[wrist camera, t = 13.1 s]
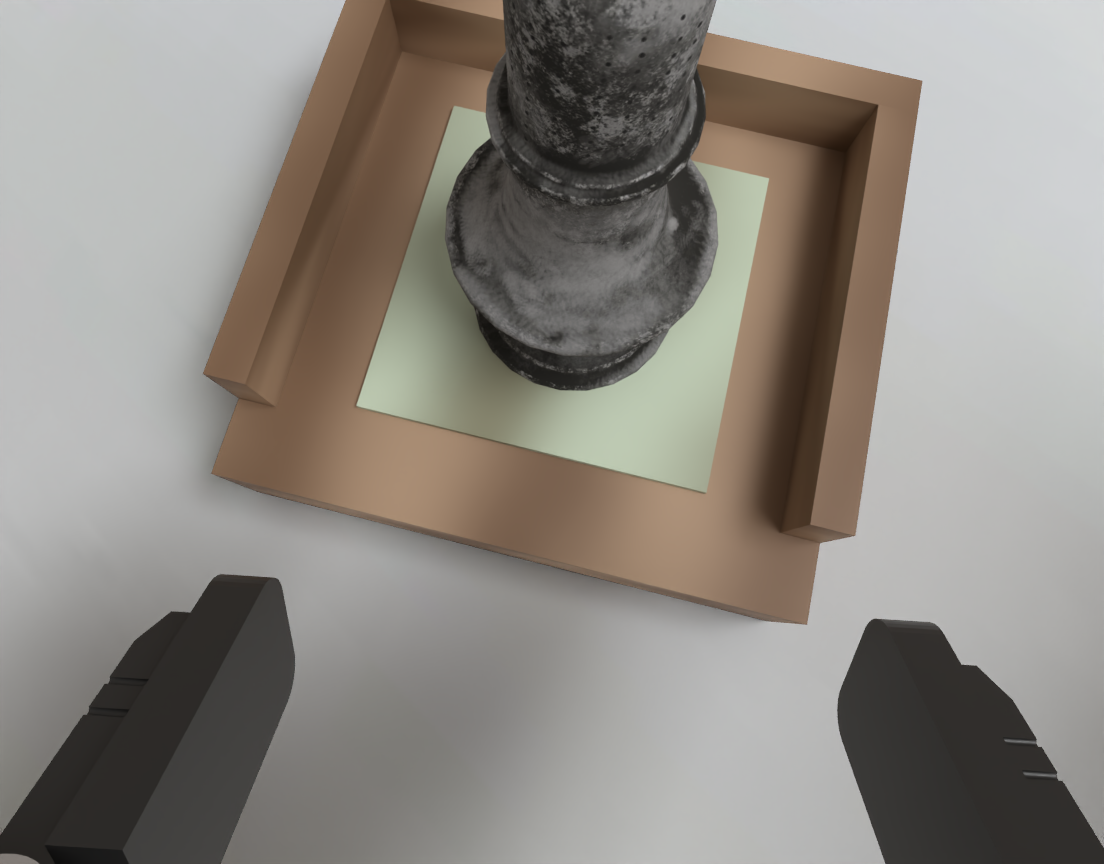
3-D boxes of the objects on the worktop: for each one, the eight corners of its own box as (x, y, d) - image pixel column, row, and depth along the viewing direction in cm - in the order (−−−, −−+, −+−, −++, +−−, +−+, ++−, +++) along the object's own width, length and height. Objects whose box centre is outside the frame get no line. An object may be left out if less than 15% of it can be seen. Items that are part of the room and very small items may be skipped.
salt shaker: (415, 311, 19) (206, -183, 7) (554, 155, 20) (577, -496, 8) (595, 448, 18) (703, 156, 6) (729, 278, 19) (1037, -242, 7)
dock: (257, 491, 21) (171, 457, 16) (398, 87, 24) (362, -45, 19) (767, 621, 20) (841, 627, 15) (841, 189, 23) (922, 80, 18)
